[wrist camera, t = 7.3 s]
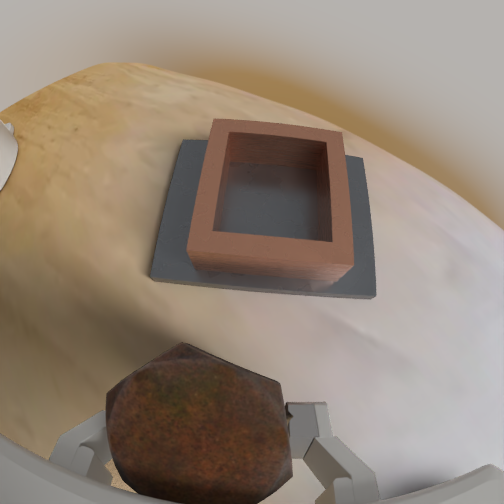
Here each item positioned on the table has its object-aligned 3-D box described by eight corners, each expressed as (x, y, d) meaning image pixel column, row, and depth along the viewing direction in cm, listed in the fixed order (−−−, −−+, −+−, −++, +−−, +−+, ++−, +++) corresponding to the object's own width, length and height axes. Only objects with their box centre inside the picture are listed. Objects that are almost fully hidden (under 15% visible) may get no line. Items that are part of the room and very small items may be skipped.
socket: (154, 281, 23) (133, 259, 18) (184, 147, 28) (176, 110, 23) (370, 299, 23) (399, 282, 18) (358, 165, 28) (376, 131, 23)
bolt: (192, 357, 21) (95, 344, 7) (258, 350, 21) (274, 330, 7) (202, 429, 19) (128, 521, 5) (268, 423, 19) (300, 519, 5)
